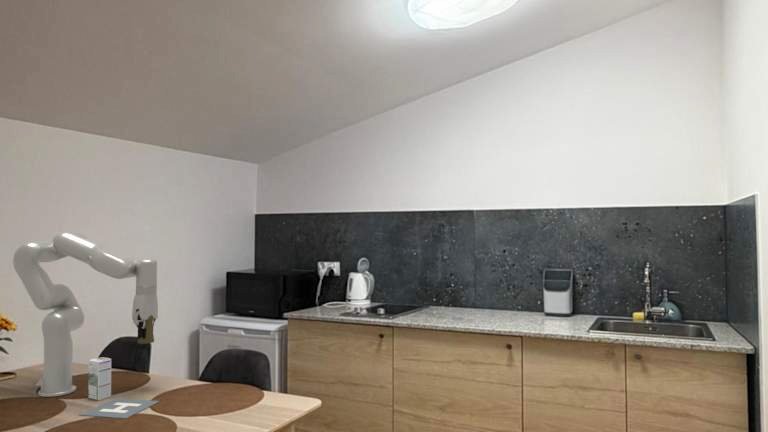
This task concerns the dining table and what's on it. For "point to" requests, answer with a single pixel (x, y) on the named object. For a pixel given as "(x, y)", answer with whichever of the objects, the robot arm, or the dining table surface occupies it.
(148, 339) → the cork
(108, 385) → the syrup box
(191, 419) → the dining table surface
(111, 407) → the letter sheet
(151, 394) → the dining table surface
